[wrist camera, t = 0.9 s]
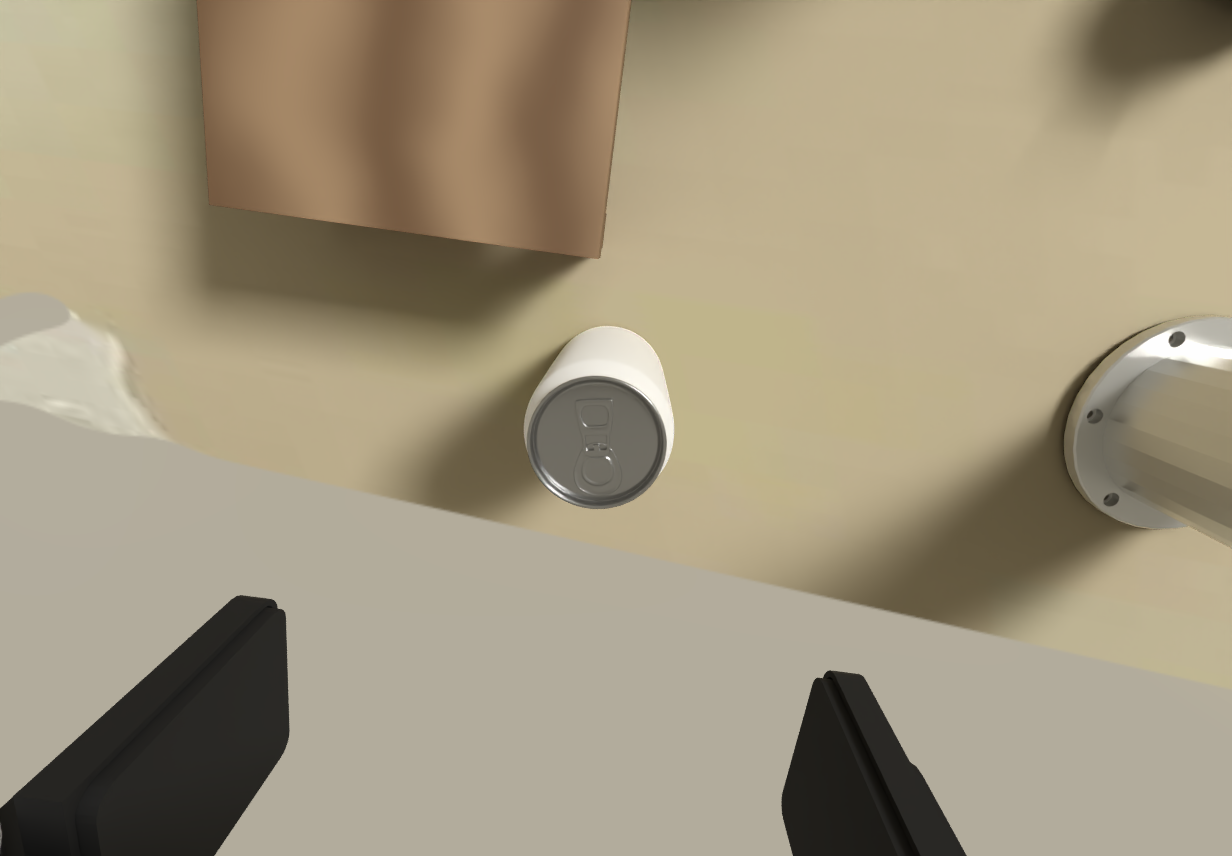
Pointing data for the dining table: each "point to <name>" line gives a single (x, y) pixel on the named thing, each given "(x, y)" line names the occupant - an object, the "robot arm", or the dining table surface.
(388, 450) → the dining table surface
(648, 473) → the can
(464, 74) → the small wooden table
